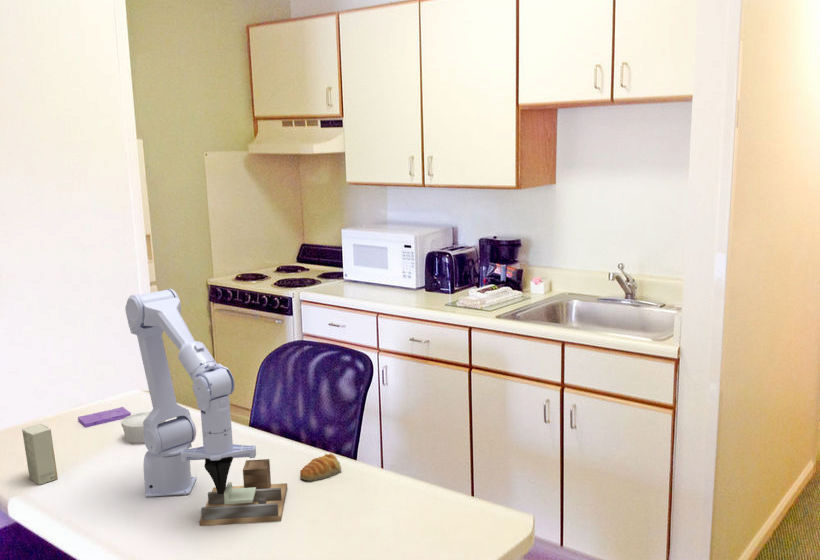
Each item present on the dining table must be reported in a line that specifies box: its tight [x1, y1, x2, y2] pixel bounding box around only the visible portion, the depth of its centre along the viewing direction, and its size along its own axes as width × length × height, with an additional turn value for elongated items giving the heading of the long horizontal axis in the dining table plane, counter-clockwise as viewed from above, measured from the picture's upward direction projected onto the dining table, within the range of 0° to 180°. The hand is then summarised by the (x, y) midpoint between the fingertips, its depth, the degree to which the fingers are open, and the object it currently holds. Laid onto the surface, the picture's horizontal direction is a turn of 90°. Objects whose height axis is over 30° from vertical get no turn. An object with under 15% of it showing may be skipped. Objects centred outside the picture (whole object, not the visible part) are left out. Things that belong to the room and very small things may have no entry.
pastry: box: [299, 453, 342, 482], centre depth 171 cm, size 9×7×4 cm
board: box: [198, 482, 288, 527], centre depth 156 cm, size 16×15×3 cm
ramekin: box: [120, 411, 167, 445], centre depth 196 cm, size 11×11×5 cm
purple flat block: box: [77, 406, 132, 429], centre depth 210 cm, size 7×13×2 cm, turn 127°
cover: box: [224, 481, 256, 504], centre depth 152 cm, size 6×6×2 cm
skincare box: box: [21, 423, 59, 486], centre depth 171 cm, size 6×4×12 cm
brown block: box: [242, 458, 272, 489], centre depth 161 cm, size 5×5×6 cm
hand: (221, 492), depth 152 cm, fingers closed
